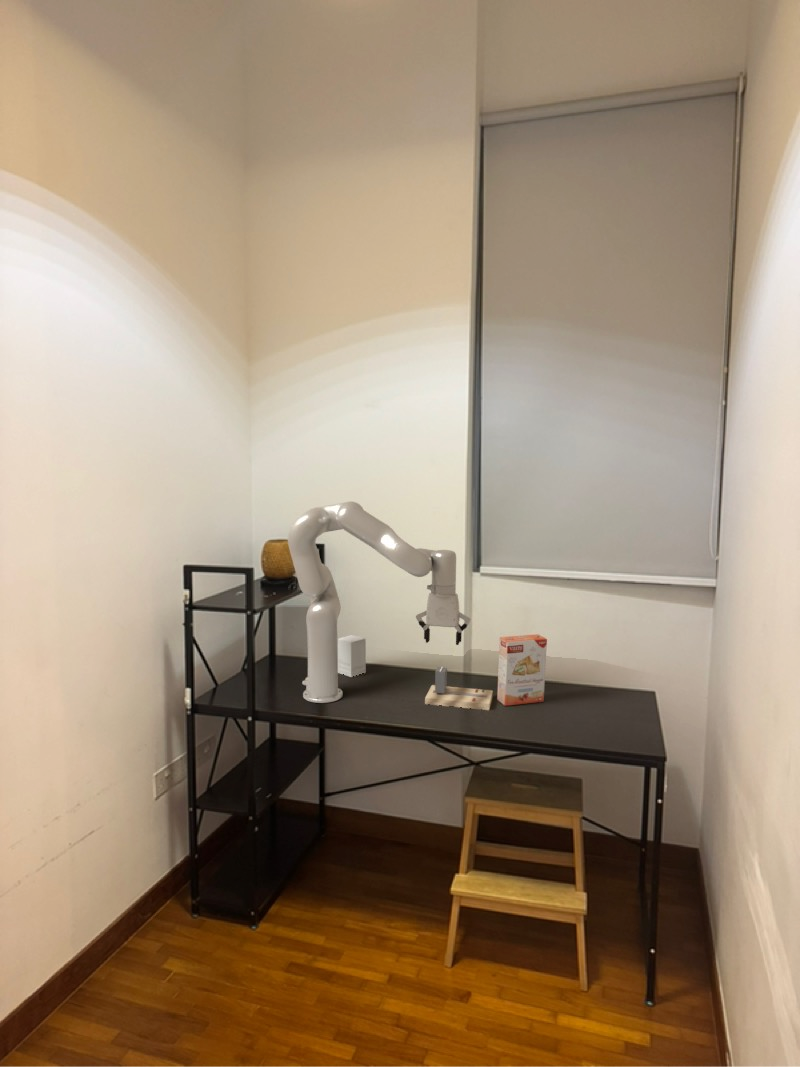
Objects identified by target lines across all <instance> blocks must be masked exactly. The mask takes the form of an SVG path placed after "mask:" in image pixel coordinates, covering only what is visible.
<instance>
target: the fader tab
mask: <svg viewBox="0 0 800 1067" xmlns="http://www.w3.org/2000/svg"><path fill="white" fill-rule="evenodd" d="M434 672H435V673H434V674H435V676H434V677H435V678H434V680H435V681H434V685H435V693H445V691H446V689H447V683H448V680H447V679H448V667H445V666H437V667H436V670H435V671H434Z"/></svg>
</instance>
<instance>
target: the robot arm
mask: <svg viewBox="0 0 800 1067" xmlns="http://www.w3.org/2000/svg"><path fill="white" fill-rule="evenodd" d="M339 530H344V531H345V532H346V533H348V534H350V535H351V536H353V537H354V538H356V539H358V540H359V541H361V542H363V543H364V544H366V545H368V546H369V547H371V548H372V549H374V550H375V551H376V552H377V553H378V554H380V556H383V557H384V558H385V559H387V560H388V561H389V562H391V563H392V564H394V565H395V566H397V567H399V568H400V569H402V570H403V571H404V572H405V573H406V572H407V573H408V574H410V575H412V576H414V577H417V578H422V577H426V576H428V574H430V572H431V584H428V585H426V586H427V587H426V590H429V591H430V592H429V593H428V595H427V596H428V597H427V602H426V603H427V604H426V610H424V611H422V612H419V613H418V614H416V615H415V618H416V621H417V622H418V625H419V626H420V627H421V628H422V630H423V639H424V640H425V644H428V643H429V642H430V639H431V638H430V637H431V636H430V635H431V634H430V633H431V629H430V627H444V628H454V629H455V630H456V633H455V645H456V646H459V644H460V643H462V634H463V633H462V632H463V631H464V630H465V629H466V628H468V625H469V624H470V622H471V618H470V617H469V616H467V615H465V613H462V612H460V602H459V595H458V594H457V593H456V591H457V589H456V588H457V587H456V586H457V554H456V552H455V551H454V550H449V549H438V550H436V549H435V550H433V549H427V548H419V547H418V548H416V547H414V546H413V545H410V544H409V543H408V542H406V541H405V540H403V538H401V537H400V536H399V535H398V534H397V533H396V531H394V529H393V528H392V527H391V526H390V525H388V524H387V523H385V522H384V521H382V520H380V519H378V518H376V517H375V516H374V515H372V514H370V512H367V511H366V510H364V508H363V506H361V504H360V503H358V502H356V501H346V502H340V503H335V504H331V505H324V506H318V507H314V508H310V509H309V510H306V511H305V512H304V513H302V514H301V515H300V516H299V517H298V518H297V519H296V520H295V521H294V522H293V523H292V525H291V527H290V529H289V531H288V536H287V545H288V550H289V553H290V556H291V559H292V565H293V567H294V571H295V574H296V578H297V582H298V586H299V589H300V591H301V592H302V593H303V594H304V596H306V597H308V600H309V603H310V606H309V607H308V609H307V612H306V615H305V619H306V620H305V623H306V637H307V676H306V677H305V679H303V680H302V683H301V685H304V686H305V687H306V688H305V690H304V691H303V693H302V697H303V699H304V700H306V701H307V702H311V703H315V704H316V703H318V704H327V703H333V702H336V701H338V700H340V699H341V698H343V695H344V694H343V690H342V689H341V688H339V682H338V680H339V677H338V676H339V673H338V639H339V638H338V636H339V635H338V618H339V615H340V613H341V602H340V601H341V600H340V597H339V595H338V592H337V591H338V590H337V588H336V584H335V581H334V578H333V574H332V572H331V569H330V568H329V567H328V566H327V565H325V563H322V560H321V558H320V552H319V549H318V547H317V544H316V541H317V538H318V537H320V536H322V535H323V534H324V533H329V532H334V531H339ZM423 617H425V621H424V620H423ZM460 619H461V620H463V621H464V623H463V624H462V625H461V624H460Z"/></svg>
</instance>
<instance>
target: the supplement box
mask: <svg viewBox="0 0 800 1067" xmlns="http://www.w3.org/2000/svg"><path fill="white" fill-rule="evenodd" d="M366 644H367V642H366V637H362V636H357V635H355V634H349V635H346V636H342V637H339V638H338V674H340V675H343V674H344V675H343V676H346V677H349V678H353V676H354V677H357V676H360V675H359V674H361V675H363V674H362V673H364V674H366V672H367V669H366V667H367V666H366V665H367V664H366V661H367V660H366V654H367V653H366V651H367V650H366ZM356 675H357V676H356Z"/></svg>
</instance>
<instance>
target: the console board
mask: <svg viewBox="0 0 800 1067" xmlns="http://www.w3.org/2000/svg"><path fill="white" fill-rule="evenodd" d="M493 693H494V691H493V690H491V689H480V688H479V689H478V688H468V687H457V686H447V689H446V691H445V693H435V684H432V685H431V686H430V688H429V690H428V692H427V694H426V695H425V697H424V705H428V704H430V705H431V706H439V705H442V707H449V706H454V707H453V708H460V707H462V708H463V709H470V708H471V709H473V710H481V709H482V711H483V710H484V711H490V708H491V704H492V701H493V697H494V695H493ZM430 705H429V706H430Z"/></svg>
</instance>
